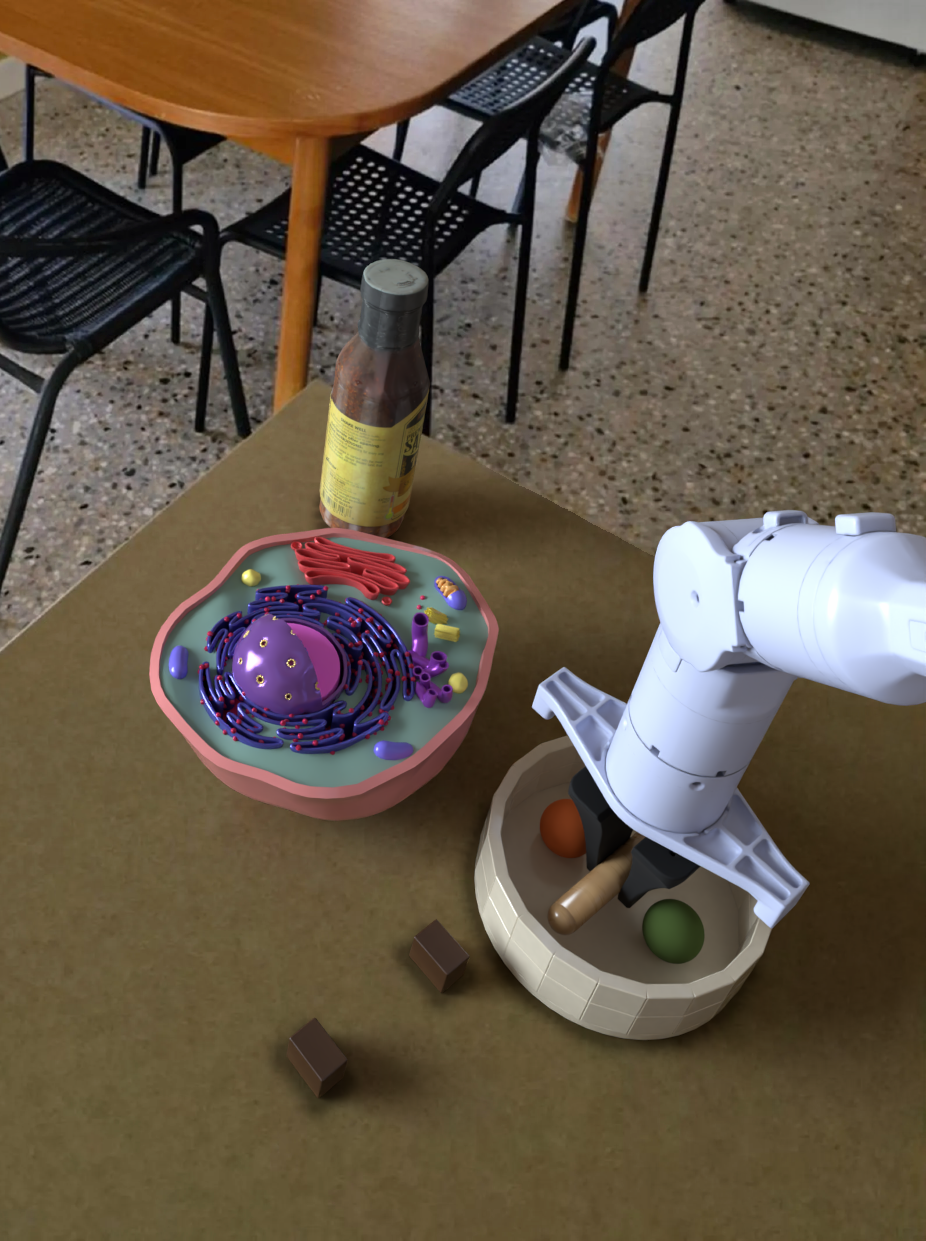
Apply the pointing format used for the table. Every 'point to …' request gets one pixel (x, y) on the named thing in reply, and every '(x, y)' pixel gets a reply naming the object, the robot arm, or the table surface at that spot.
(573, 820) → the orange ball
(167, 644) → the cell model
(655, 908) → the green ball
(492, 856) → the cream shallow round container
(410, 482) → the sauce bottle
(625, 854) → the stick
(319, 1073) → the stick rest
